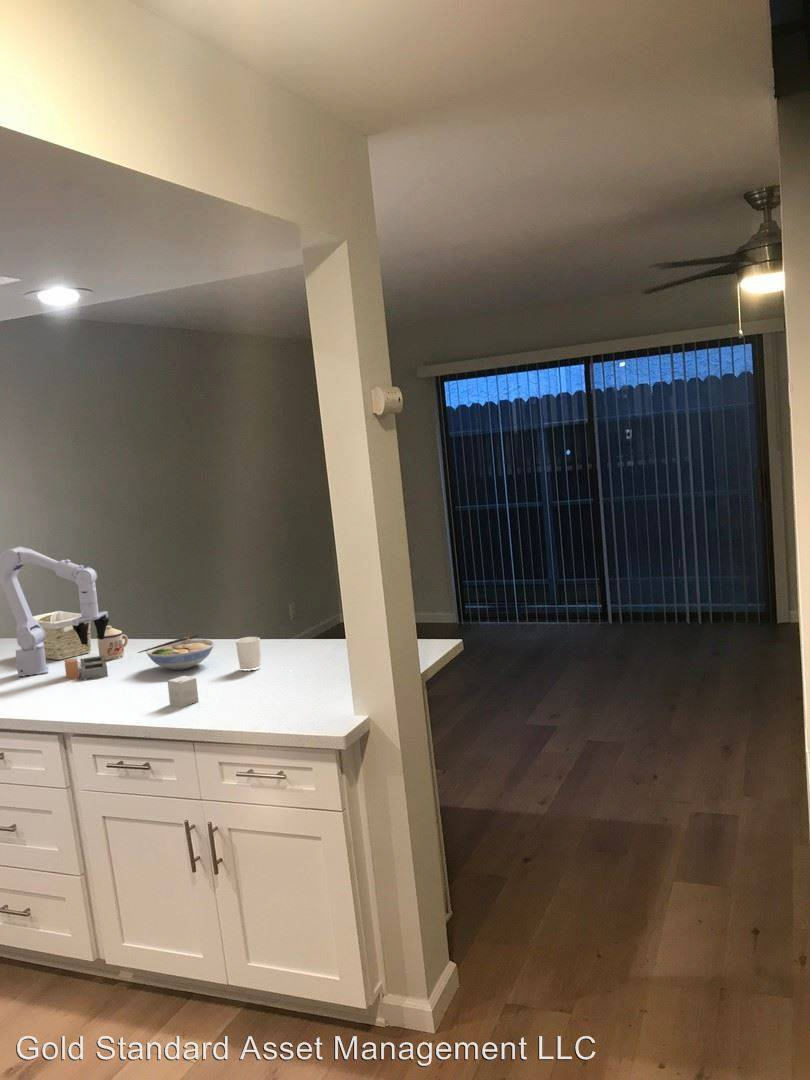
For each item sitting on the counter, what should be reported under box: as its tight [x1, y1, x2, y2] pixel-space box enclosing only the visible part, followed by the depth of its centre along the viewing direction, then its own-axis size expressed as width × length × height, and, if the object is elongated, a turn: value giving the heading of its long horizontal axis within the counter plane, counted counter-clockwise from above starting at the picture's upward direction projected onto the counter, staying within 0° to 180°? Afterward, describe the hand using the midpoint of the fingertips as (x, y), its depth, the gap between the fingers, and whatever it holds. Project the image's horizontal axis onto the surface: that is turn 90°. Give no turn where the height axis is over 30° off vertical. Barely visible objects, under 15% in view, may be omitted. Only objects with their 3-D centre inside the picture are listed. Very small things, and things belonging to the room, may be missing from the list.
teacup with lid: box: [96, 625, 129, 661], centre depth 332 cm, size 12×9×12 cm
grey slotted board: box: [80, 655, 109, 681], centre depth 311 cm, size 20×8×3 cm, turn 21°
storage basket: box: [32, 610, 92, 661], centre depth 343 cm, size 24×16×15 cm
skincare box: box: [167, 675, 200, 708], centre depth 264 cm, size 6×6×7 cm
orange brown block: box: [64, 657, 80, 680], centre depth 305 cm, size 4×4×6 cm
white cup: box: [235, 636, 262, 670], centre depth 298 cm, size 8×8×10 cm
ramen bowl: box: [137, 634, 215, 671], centre depth 308 cm, size 25×23×8 cm
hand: (93, 641), depth 314 cm, fingers open, 7 cm apart
